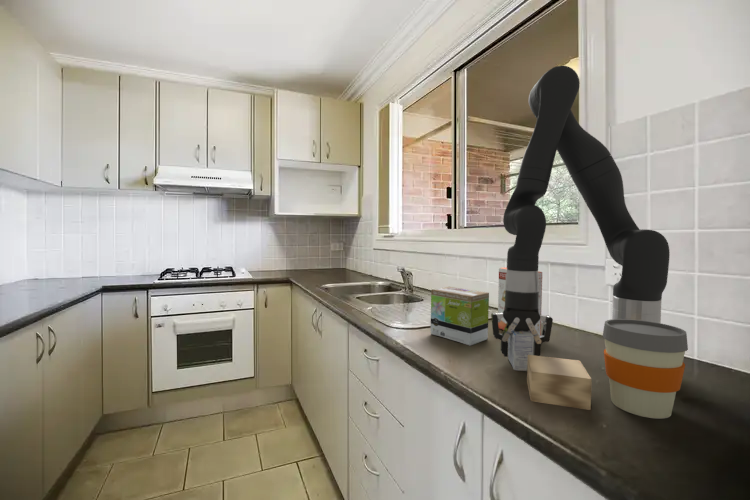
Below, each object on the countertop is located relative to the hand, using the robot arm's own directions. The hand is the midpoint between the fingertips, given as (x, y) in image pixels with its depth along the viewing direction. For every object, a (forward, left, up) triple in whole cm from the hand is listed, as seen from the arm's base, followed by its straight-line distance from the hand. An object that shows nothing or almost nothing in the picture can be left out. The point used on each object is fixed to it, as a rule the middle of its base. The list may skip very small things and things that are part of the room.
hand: (520, 356), depth 86 cm
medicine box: (0, 0, -2) cm, 2 cm away
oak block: (-4, +15, -2) cm, 16 cm away
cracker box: (-5, -30, -2) cm, 31 cm away
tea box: (+14, -21, -2) cm, 25 cm away
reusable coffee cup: (-18, +17, -2) cm, 25 cm away
